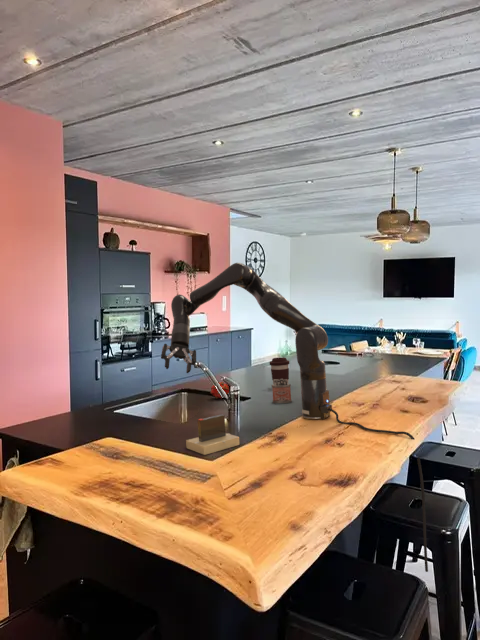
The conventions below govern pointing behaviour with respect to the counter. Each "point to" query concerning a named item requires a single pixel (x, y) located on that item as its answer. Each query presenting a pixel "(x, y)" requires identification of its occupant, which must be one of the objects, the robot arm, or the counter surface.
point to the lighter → (281, 391)
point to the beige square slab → (212, 444)
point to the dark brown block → (211, 428)
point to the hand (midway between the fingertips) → (177, 370)
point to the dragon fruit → (215, 392)
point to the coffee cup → (279, 369)
